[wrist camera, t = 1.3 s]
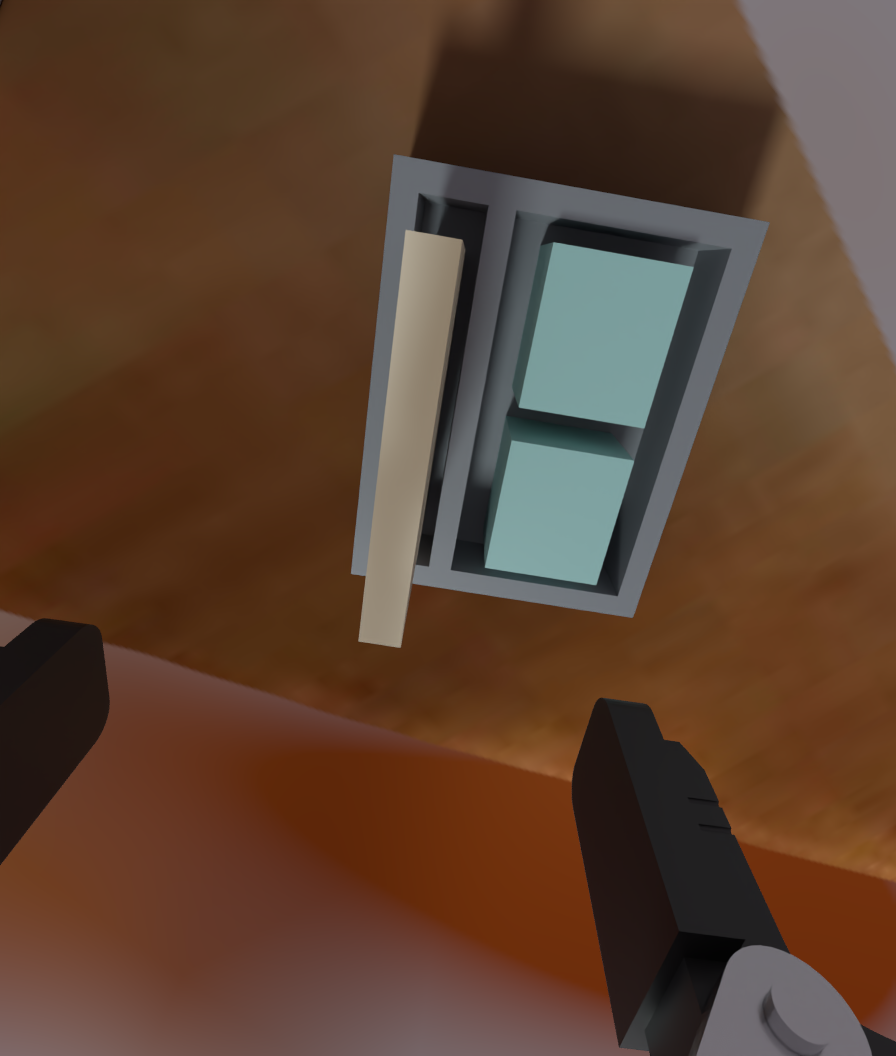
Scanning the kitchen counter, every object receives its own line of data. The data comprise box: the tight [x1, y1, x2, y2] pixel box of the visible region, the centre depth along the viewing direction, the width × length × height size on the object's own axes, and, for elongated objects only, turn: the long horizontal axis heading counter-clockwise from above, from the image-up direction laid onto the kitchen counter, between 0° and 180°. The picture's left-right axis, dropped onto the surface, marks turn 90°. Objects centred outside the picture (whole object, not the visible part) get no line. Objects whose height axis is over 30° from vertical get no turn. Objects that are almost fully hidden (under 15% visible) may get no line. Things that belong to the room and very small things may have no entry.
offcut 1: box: [512, 242, 694, 428], centre depth 28 cm, size 6×7×5 cm
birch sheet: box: [359, 230, 466, 648], centre depth 25 cm, size 2×14×14 cm, turn 171°
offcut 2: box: [483, 416, 634, 585], centre depth 32 cm, size 6×7×5 cm
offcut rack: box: [351, 154, 770, 618], centre depth 31 cm, size 16×20×5 cm
